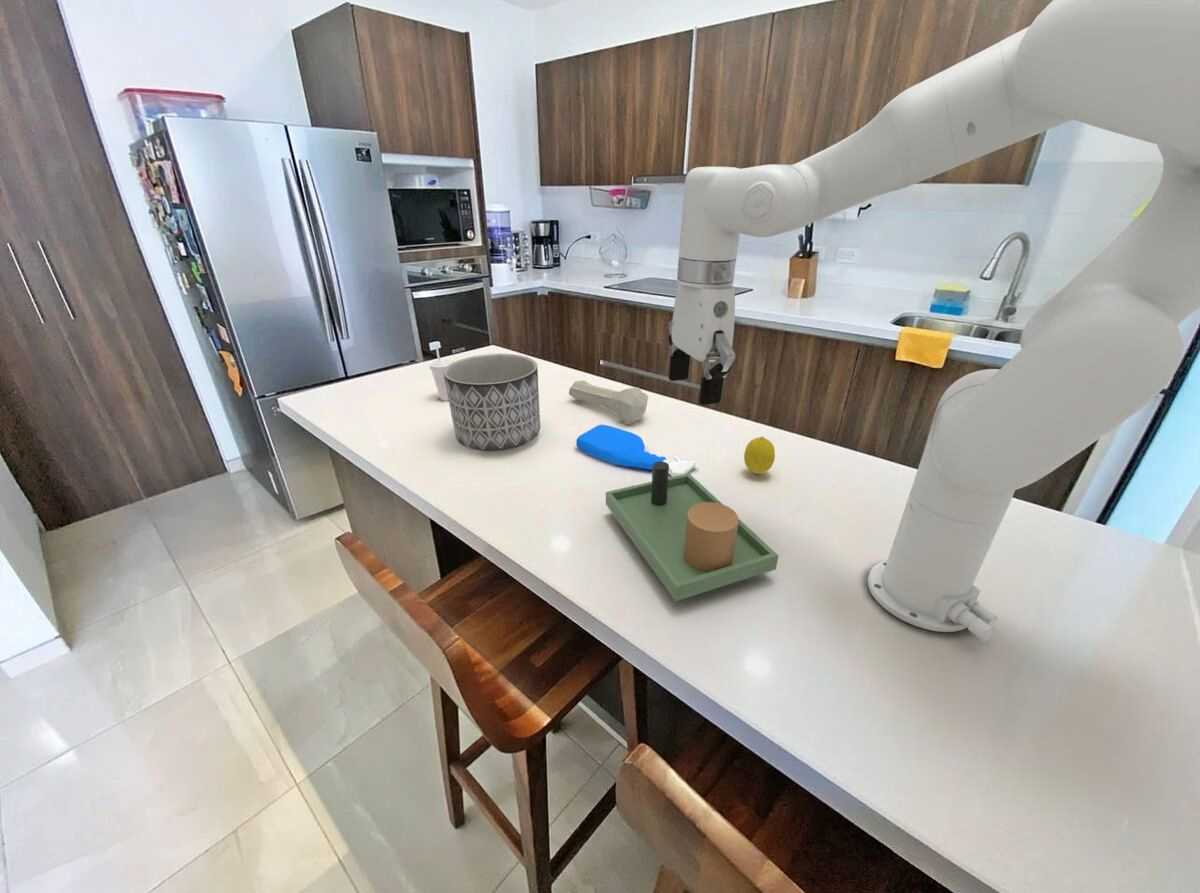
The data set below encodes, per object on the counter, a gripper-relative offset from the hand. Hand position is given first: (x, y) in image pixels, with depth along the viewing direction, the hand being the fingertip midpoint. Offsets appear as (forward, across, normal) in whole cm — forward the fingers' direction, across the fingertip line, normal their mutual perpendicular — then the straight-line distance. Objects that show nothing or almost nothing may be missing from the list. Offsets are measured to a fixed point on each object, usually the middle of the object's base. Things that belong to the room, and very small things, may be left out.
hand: (693, 390), depth 75 cm
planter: (+24, +39, +25) cm, 52 cm away
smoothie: (+24, +68, +34) cm, 80 cm away
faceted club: (+23, +45, -3) cm, 51 cm away
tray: (+20, -8, +4) cm, 22 cm away
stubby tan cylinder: (+19, -15, +4) cm, 24 cm away
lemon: (+22, +6, -20) cm, 30 cm away
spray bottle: (+23, +20, 0) cm, 31 cm away
